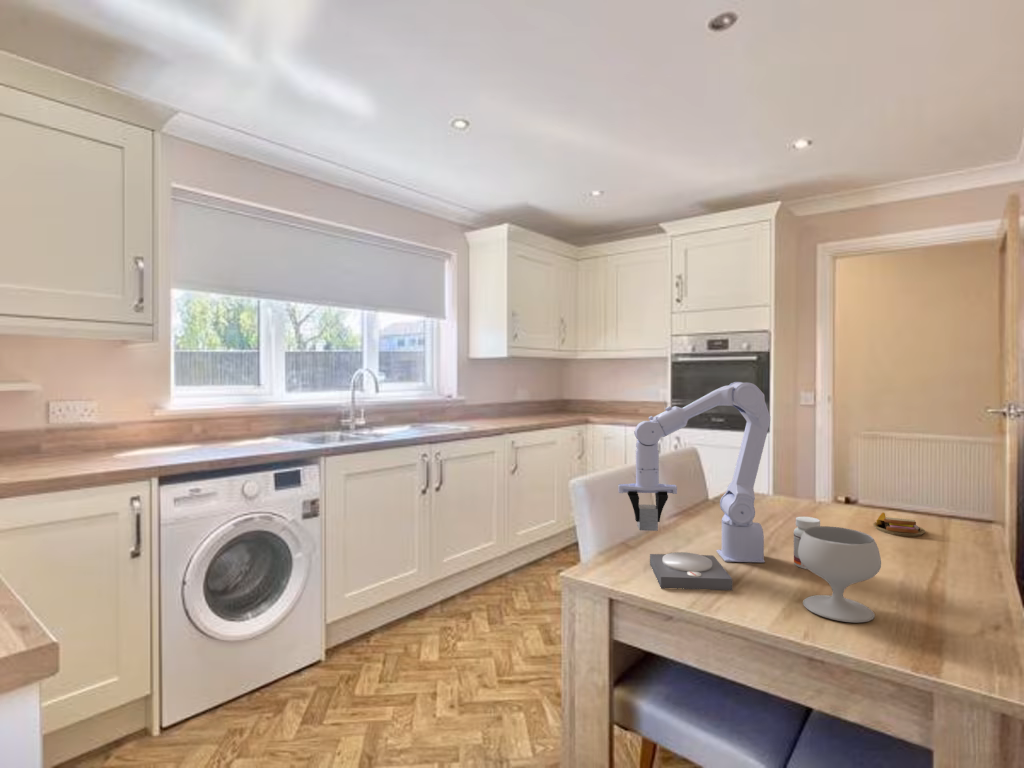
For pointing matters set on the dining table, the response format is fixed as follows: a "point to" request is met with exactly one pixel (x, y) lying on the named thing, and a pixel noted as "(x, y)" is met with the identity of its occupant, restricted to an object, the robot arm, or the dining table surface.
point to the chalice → (839, 569)
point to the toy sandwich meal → (898, 526)
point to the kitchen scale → (689, 571)
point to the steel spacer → (648, 518)
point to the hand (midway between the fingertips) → (647, 520)
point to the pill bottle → (802, 526)
